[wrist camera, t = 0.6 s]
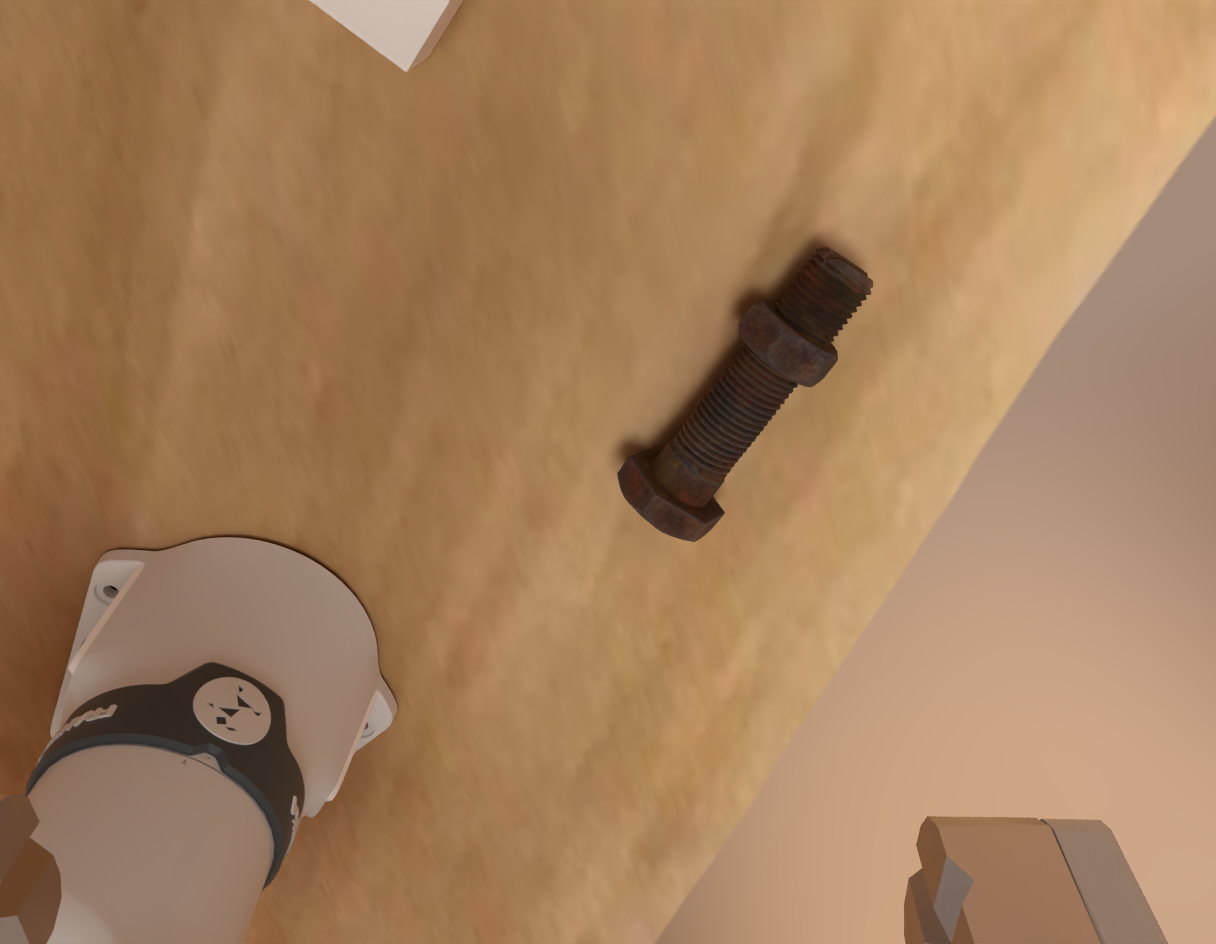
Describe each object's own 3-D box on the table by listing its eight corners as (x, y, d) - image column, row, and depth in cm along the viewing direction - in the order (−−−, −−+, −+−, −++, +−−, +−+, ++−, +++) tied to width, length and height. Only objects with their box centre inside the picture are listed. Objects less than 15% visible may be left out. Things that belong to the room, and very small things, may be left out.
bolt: (845, 249, 49) (668, 479, 55) (781, 212, 46) (600, 460, 52) (919, 314, 45) (721, 554, 51) (854, 278, 42) (651, 539, 48)
